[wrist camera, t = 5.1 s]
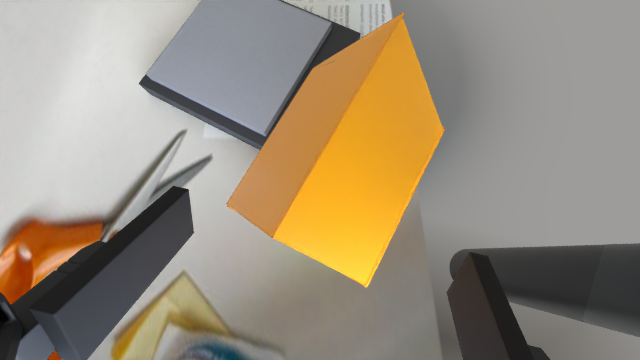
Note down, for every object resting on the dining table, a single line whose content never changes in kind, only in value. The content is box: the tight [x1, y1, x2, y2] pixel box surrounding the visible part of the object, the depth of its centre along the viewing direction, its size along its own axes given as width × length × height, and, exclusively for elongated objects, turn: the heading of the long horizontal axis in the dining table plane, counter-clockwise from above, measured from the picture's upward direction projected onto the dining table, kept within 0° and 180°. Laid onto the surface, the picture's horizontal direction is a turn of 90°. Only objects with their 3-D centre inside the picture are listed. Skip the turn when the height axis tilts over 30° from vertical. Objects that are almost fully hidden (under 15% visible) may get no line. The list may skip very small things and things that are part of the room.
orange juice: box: [226, 13, 445, 287], centre depth 18 cm, size 8×9×20 cm
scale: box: [139, 0, 360, 150], centre depth 31 cm, size 18×16×3 cm
